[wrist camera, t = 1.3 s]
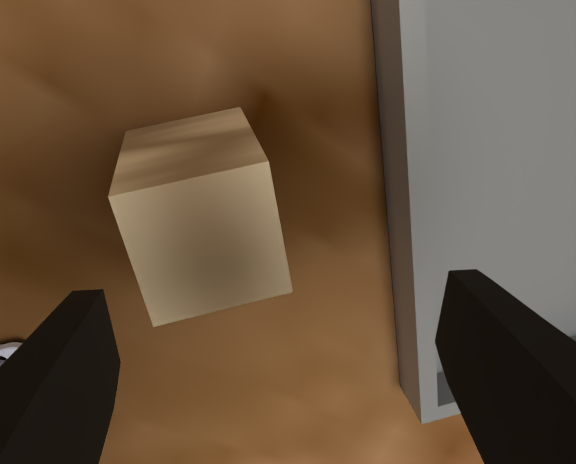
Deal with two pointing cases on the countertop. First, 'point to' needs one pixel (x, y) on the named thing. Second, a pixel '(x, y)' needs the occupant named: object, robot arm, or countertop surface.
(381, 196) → the countertop surface
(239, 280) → the block
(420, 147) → the tray
